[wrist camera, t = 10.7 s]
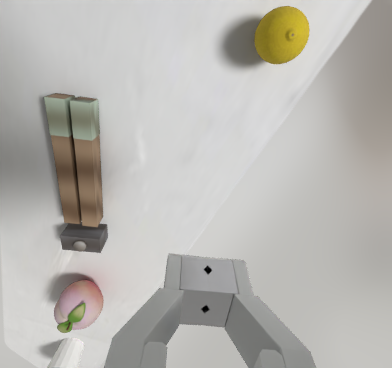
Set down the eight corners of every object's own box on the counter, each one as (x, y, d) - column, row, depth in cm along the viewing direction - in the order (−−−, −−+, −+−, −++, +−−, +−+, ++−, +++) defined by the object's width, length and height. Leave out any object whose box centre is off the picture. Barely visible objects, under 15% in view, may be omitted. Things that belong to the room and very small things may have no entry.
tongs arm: (103, 216, 44) (97, 227, 41) (89, 214, 44) (81, 225, 41) (98, 99, 34) (89, 103, 32) (79, 96, 34) (69, 100, 32)
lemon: (252, 67, 33) (268, 72, 26) (245, 19, 30) (260, 10, 23) (295, 55, 32) (322, 57, 25) (291, 5, 30) (320, -9, 23)
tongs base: (52, 92, 34) (33, 98, 30) (99, 98, 35) (87, 104, 31) (72, 234, 46) (60, 251, 42) (107, 237, 46) (99, 255, 42)
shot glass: (73, 332, 60) (59, 364, 54) (92, 346, 63) (81, 378, 57) (53, 341, 62) (37, 373, 56) (73, 354, 65) (60, 386, 59)
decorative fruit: (100, 302, 55) (82, 350, 46) (64, 289, 53) (38, 337, 44) (117, 276, 51) (100, 323, 43) (78, 262, 49) (53, 307, 41)
